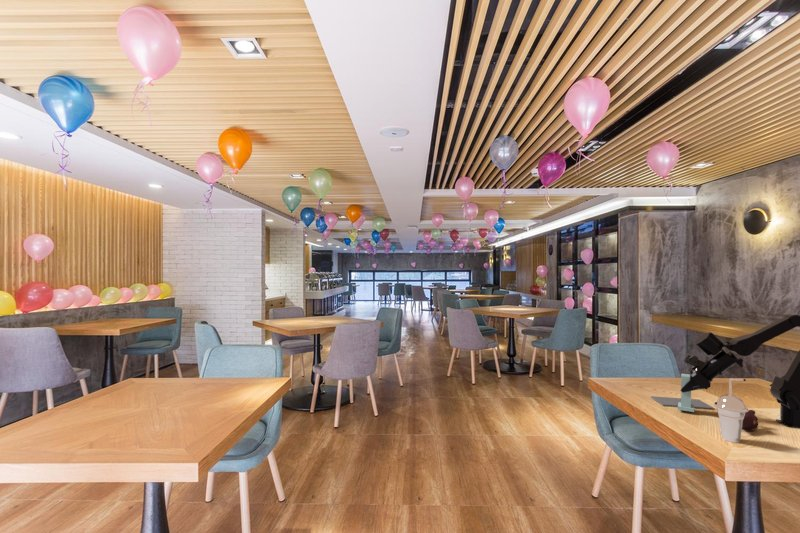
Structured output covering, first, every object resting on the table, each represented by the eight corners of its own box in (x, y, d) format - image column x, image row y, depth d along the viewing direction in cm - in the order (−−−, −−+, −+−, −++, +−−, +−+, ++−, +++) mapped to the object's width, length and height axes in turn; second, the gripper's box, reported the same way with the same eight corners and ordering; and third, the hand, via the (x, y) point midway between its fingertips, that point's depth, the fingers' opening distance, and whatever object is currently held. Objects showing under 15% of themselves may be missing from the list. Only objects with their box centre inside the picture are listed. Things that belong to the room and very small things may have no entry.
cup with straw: (743, 437, 134) (743, 373, 134) (753, 447, 125) (753, 379, 126) (710, 433, 137) (711, 370, 138) (718, 442, 129) (718, 376, 130)
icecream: (755, 418, 133) (768, 414, 142) (727, 406, 139) (741, 403, 148) (747, 438, 134) (761, 432, 143) (720, 425, 140) (735, 421, 149)
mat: (714, 409, 163) (714, 408, 163) (663, 405, 166) (663, 404, 166) (698, 400, 175) (698, 399, 175) (651, 397, 178) (651, 396, 178)
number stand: (694, 407, 162) (694, 374, 162) (694, 412, 156) (694, 377, 156) (678, 405, 165) (678, 372, 165) (677, 409, 159) (677, 375, 159)
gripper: (698, 344, 166) (665, 368, 172) (698, 350, 151) (662, 376, 157) (723, 367, 162) (688, 391, 168) (726, 375, 146) (688, 402, 152)
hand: (681, 389), depth 161 cm, fingers closed on number stand, 5 cm apart
